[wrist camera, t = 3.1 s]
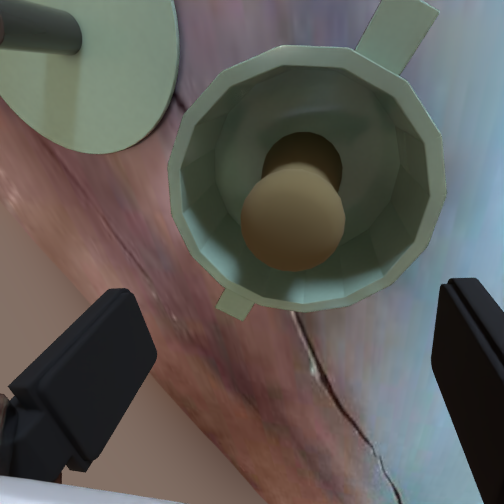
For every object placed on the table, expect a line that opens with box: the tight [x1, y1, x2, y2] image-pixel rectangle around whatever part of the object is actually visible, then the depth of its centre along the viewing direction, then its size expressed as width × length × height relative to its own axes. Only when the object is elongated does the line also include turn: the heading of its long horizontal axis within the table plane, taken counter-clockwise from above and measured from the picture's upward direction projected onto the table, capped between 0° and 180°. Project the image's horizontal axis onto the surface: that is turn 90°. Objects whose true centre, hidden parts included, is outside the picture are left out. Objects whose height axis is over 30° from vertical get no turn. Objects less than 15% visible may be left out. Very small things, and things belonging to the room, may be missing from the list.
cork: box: [241, 132, 345, 272], centre depth 19 cm, size 6×6×11 cm
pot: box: [167, 0, 447, 321], centre depth 21 cm, size 15×21×7 cm
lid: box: [0, 0, 179, 154], centre depth 19 cm, size 16×16×7 cm
